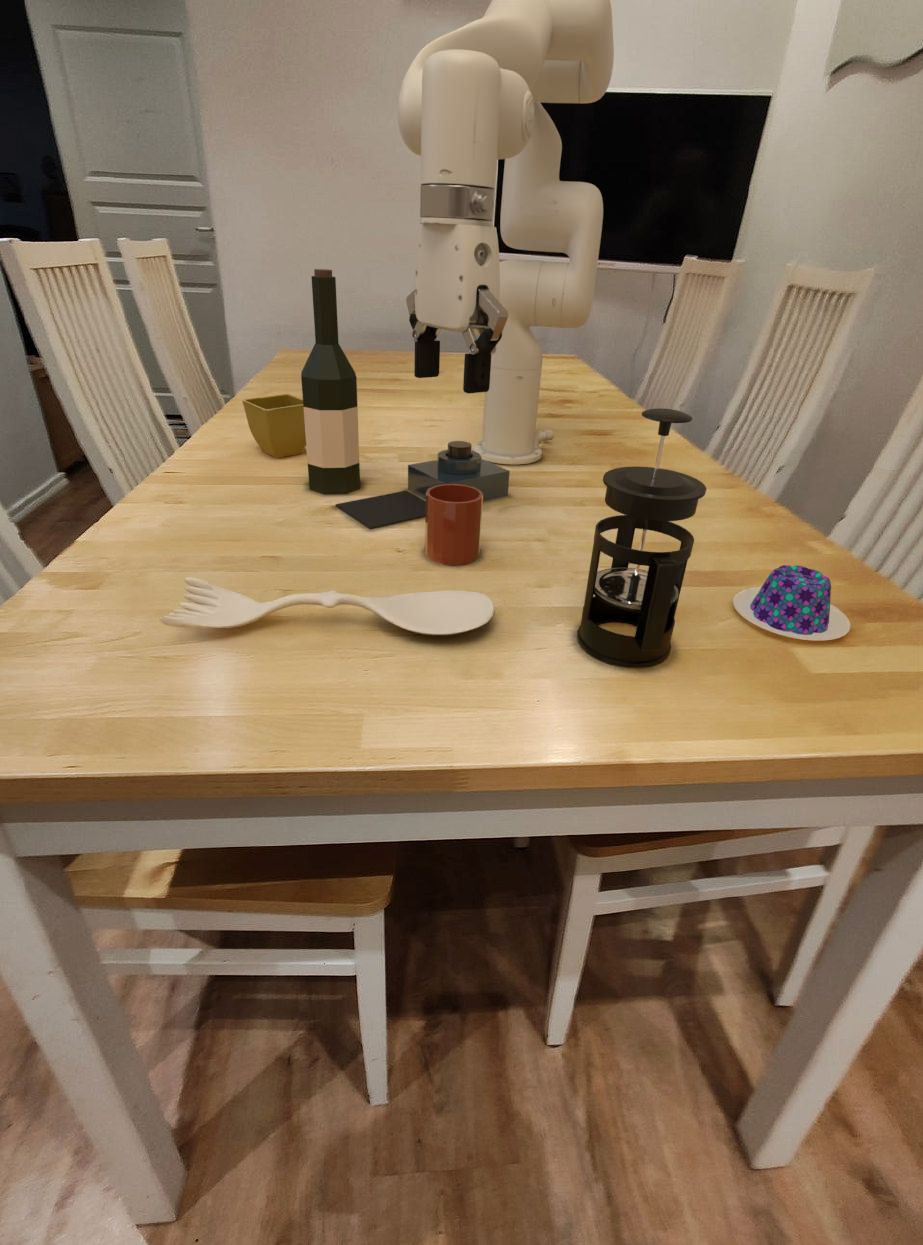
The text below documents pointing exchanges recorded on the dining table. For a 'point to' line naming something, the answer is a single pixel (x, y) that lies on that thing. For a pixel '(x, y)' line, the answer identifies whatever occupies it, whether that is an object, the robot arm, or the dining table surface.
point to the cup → (453, 523)
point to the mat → (385, 509)
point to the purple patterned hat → (794, 605)
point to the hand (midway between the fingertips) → (450, 384)
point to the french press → (639, 559)
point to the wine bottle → (330, 400)
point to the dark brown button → (459, 450)
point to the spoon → (405, 610)
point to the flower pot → (277, 424)
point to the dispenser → (459, 475)
